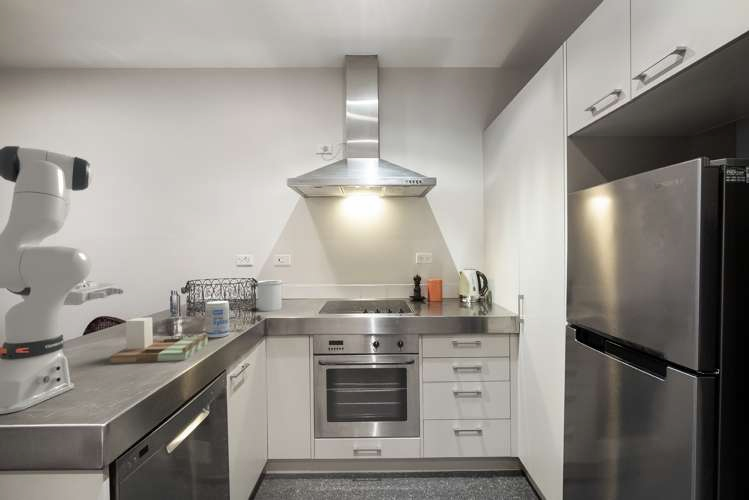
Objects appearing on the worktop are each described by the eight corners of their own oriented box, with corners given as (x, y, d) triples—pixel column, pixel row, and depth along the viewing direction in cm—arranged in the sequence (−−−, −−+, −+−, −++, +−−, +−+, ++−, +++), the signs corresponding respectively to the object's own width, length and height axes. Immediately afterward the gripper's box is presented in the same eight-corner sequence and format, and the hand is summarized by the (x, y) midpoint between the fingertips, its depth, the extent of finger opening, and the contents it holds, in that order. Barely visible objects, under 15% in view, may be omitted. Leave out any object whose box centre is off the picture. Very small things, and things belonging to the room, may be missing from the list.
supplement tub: (215, 339, 154) (214, 304, 154) (200, 337, 159) (200, 302, 159) (234, 334, 163) (233, 301, 163) (220, 332, 167) (219, 299, 167)
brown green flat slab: (185, 359, 126) (185, 348, 126) (110, 363, 124) (110, 351, 123) (207, 343, 148) (207, 333, 148) (144, 346, 145) (143, 335, 145)
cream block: (144, 348, 132) (144, 320, 132) (126, 349, 132) (126, 321, 131) (152, 344, 138) (152, 317, 138) (135, 344, 138) (135, 318, 137)
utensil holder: (278, 311, 221) (278, 282, 221) (254, 311, 221) (253, 282, 221) (285, 307, 236) (284, 279, 236) (262, 307, 236) (261, 280, 236)
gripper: (51, 288, 123) (94, 288, 123) (94, 280, 143) (131, 281, 144) (51, 306, 123) (94, 307, 124) (94, 297, 143) (131, 297, 144)
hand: (114, 293), depth 134 cm, fingers open, 8 cm apart
